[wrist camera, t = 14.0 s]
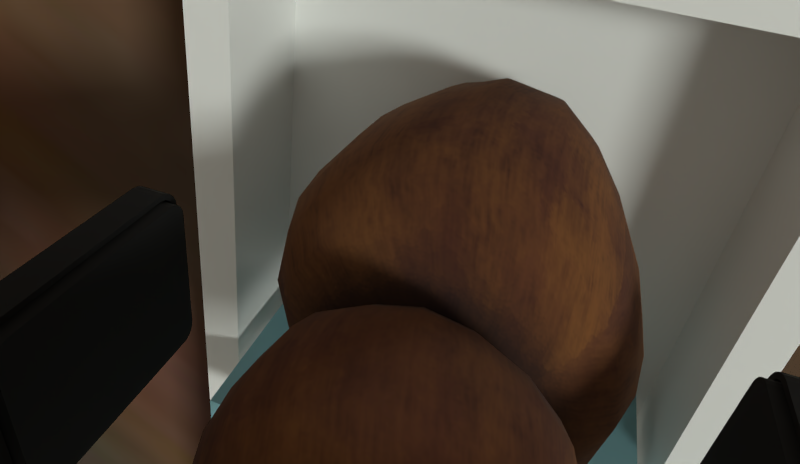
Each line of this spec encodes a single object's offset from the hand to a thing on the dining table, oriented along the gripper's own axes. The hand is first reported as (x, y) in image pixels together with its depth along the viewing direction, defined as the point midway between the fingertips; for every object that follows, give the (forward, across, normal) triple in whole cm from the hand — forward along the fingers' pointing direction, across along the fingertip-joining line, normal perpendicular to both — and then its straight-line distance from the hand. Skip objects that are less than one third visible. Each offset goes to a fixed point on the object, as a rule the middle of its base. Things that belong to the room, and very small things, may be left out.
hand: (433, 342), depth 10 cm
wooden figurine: (+6, 0, 0) cm, 7 cm away
